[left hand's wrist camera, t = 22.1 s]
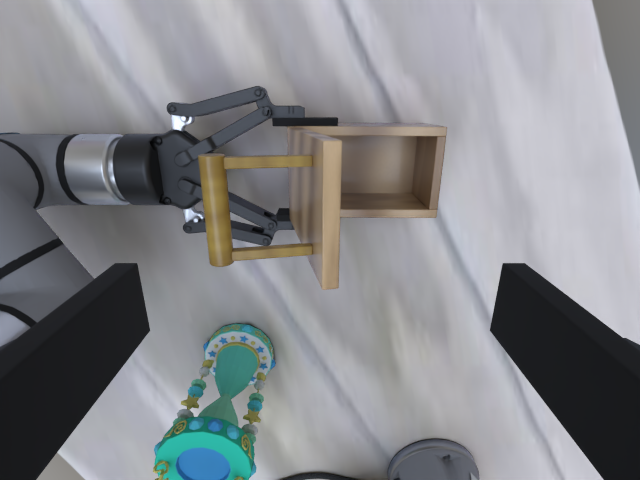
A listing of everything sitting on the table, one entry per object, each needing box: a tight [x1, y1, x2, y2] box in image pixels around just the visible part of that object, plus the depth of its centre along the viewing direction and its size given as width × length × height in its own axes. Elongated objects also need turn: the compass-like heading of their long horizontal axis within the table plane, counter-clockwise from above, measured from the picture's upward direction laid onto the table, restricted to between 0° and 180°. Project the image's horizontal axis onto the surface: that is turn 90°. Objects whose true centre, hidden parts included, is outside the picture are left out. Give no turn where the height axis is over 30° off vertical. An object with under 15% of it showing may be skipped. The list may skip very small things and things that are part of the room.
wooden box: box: [294, 123, 447, 218], centre depth 41 cm, size 15×9×9 cm, turn 90°
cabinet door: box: [198, 127, 342, 290], centre depth 28 cm, size 16×9×8 cm
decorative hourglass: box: [153, 324, 276, 480], centre depth 40 cm, size 11×11×30 cm
